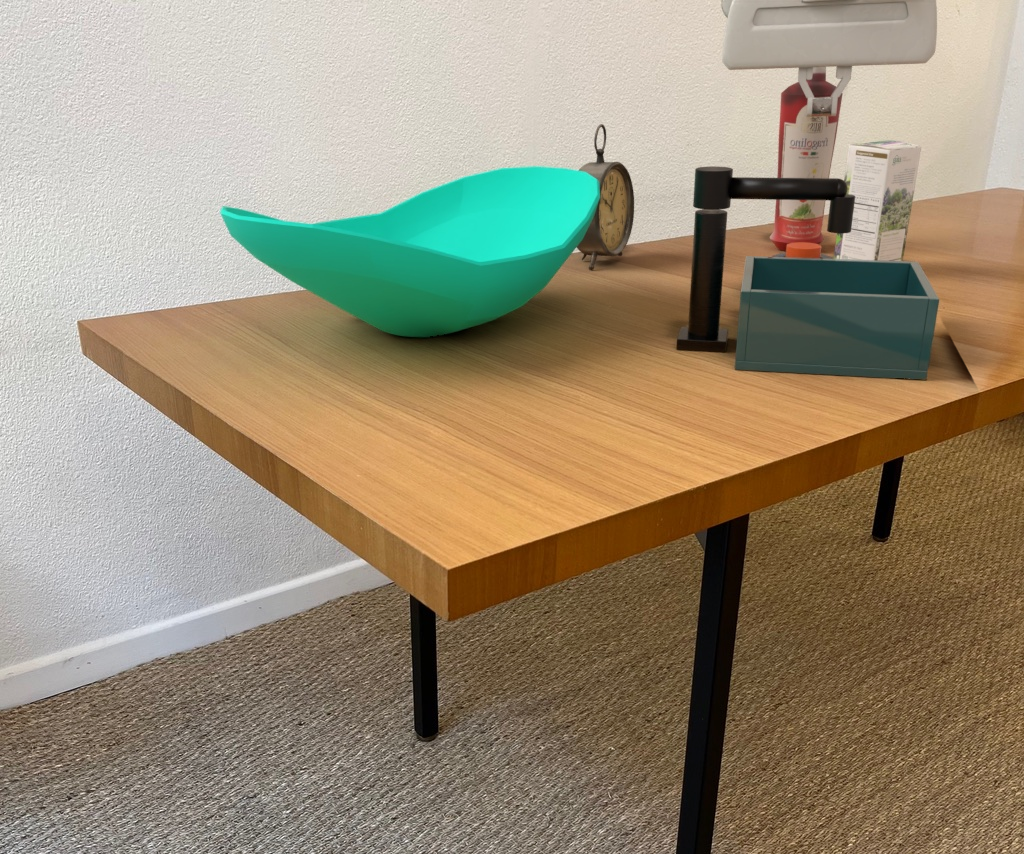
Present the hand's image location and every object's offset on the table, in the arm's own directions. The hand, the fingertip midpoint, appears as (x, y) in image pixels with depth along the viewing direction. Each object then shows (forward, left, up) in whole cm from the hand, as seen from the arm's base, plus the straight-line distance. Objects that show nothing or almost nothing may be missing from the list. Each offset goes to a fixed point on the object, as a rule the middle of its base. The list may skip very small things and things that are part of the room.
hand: (821, 116), depth 106 cm
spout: (+4, +21, -8) cm, 23 cm away
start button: (0, 0, -15) cm, 15 cm away
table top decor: (+36, +20, -18) cm, 45 cm away
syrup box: (-8, -13, -18) cm, 24 cm away
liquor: (0, -26, -18) cm, 32 cm away
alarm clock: (+24, -13, -18) cm, 33 cm away
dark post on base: (+9, +21, -18) cm, 30 cm away
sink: (-2, +21, -18) cm, 28 cm away
